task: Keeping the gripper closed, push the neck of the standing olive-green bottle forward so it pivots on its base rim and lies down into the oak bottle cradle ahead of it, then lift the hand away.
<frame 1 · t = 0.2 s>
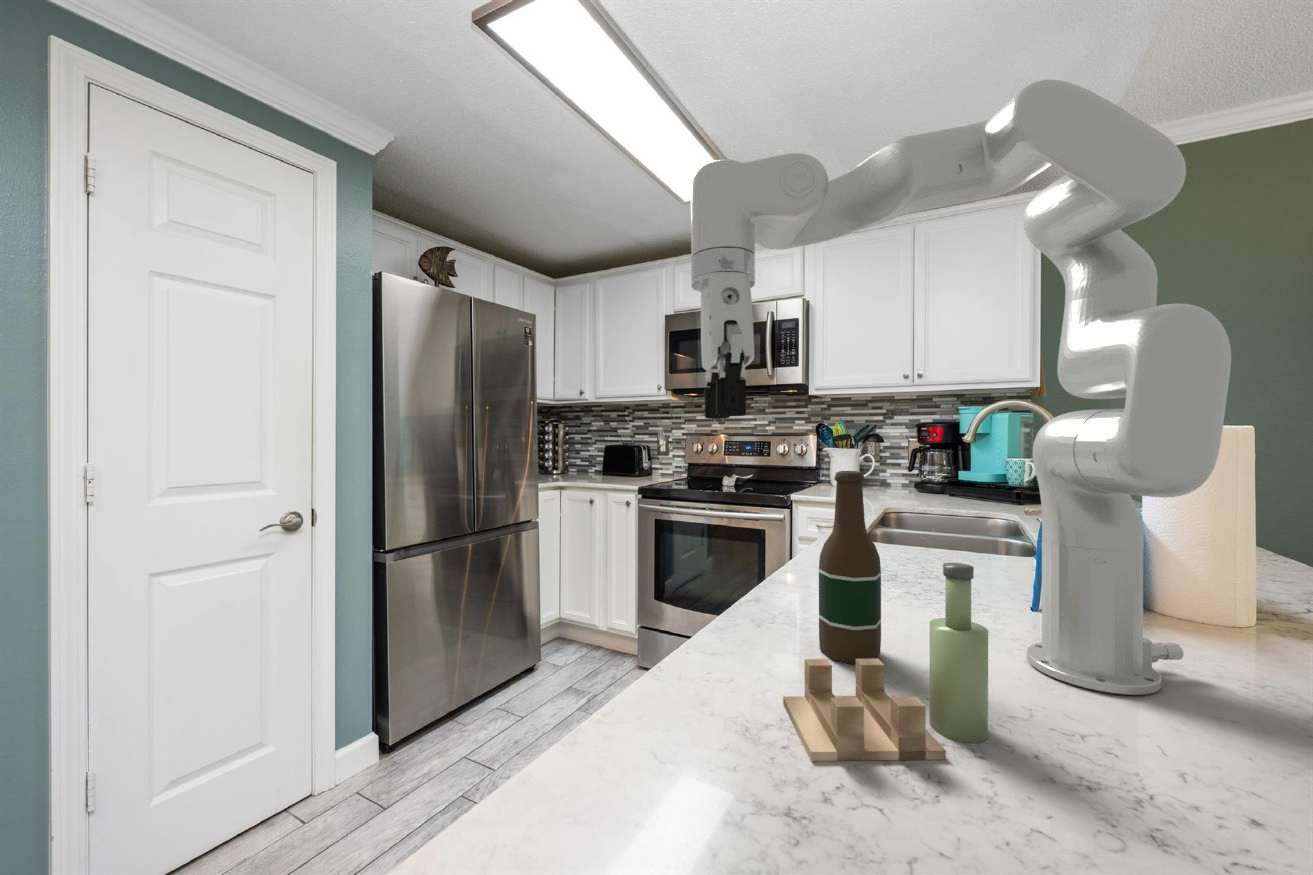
hand: (723, 417, 64), 31 cm above the countertop, tool pointing down, fingers open, 9 cm apart
bottle: (958, 728, 53), on the countertop
beer bottle: (849, 654, 71), on the countertop
rest: (856, 728, 52), on the countertop
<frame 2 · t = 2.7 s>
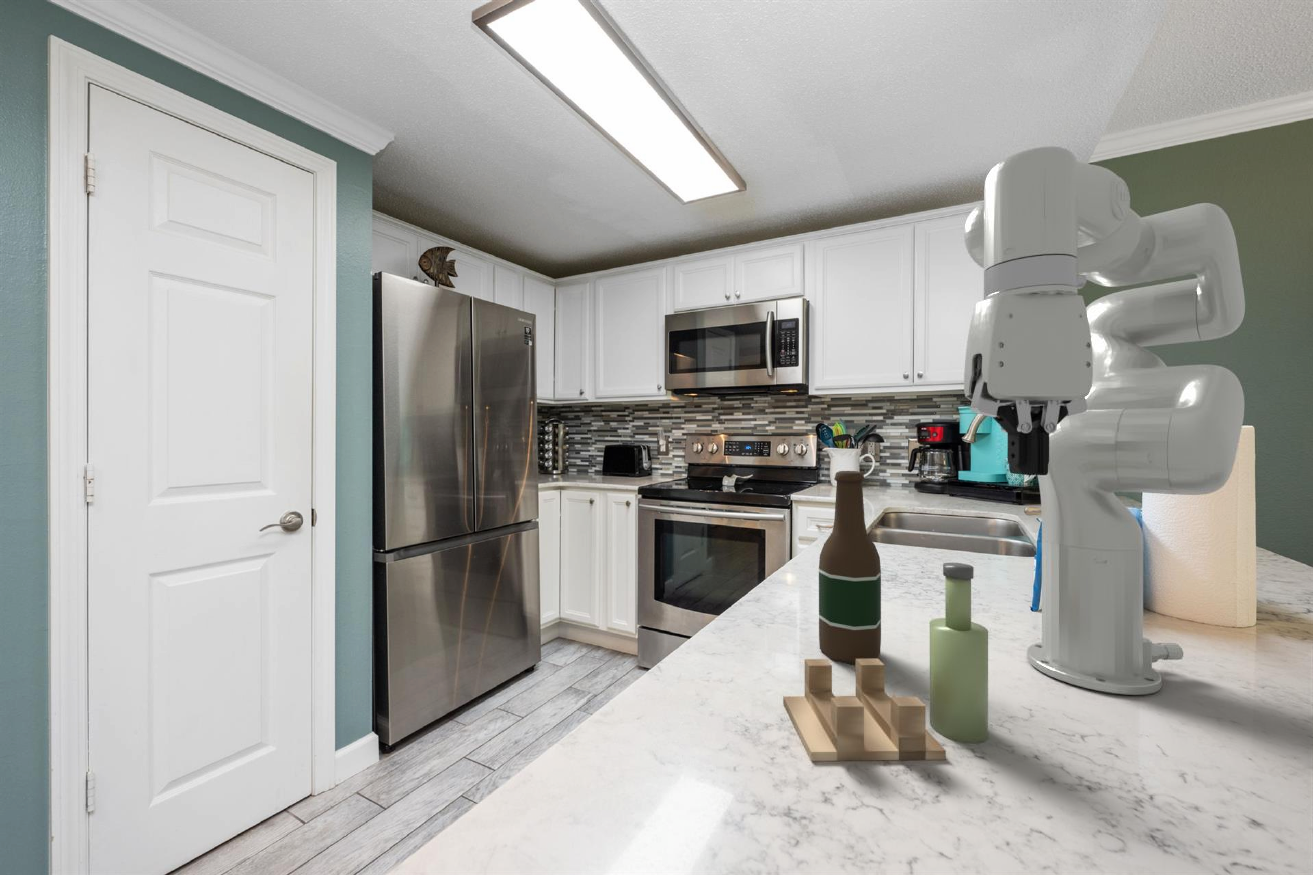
hand: (1028, 473, 52), 25 cm above the countertop, tool pointing down, fingers closed
nothing on the countertop moved.
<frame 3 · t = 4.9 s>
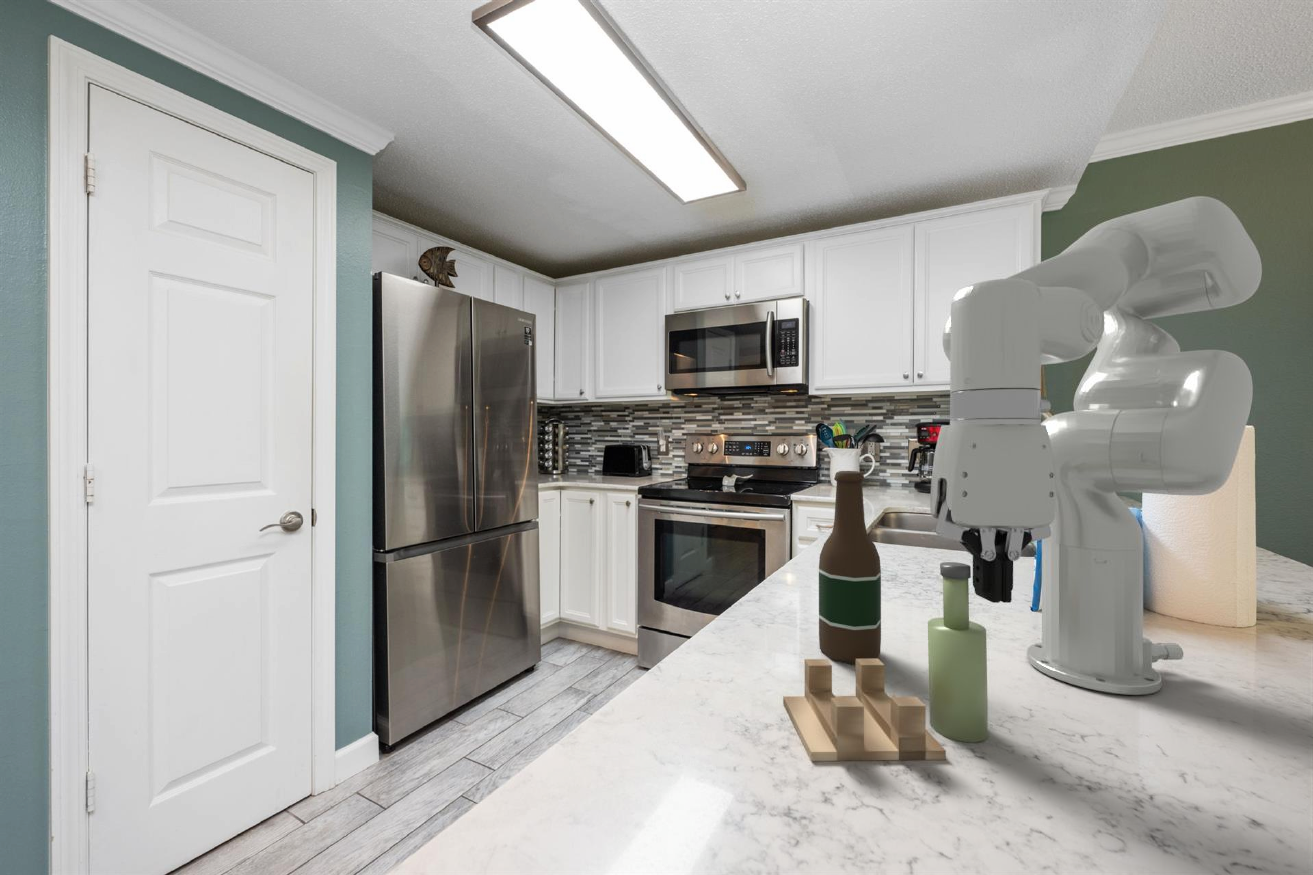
hand: (992, 598, 52), 13 cm above the countertop, tool pointing down, fingers closed
bottle: (958, 727, 53), on the countertop, touching gripper
everything else where it was.
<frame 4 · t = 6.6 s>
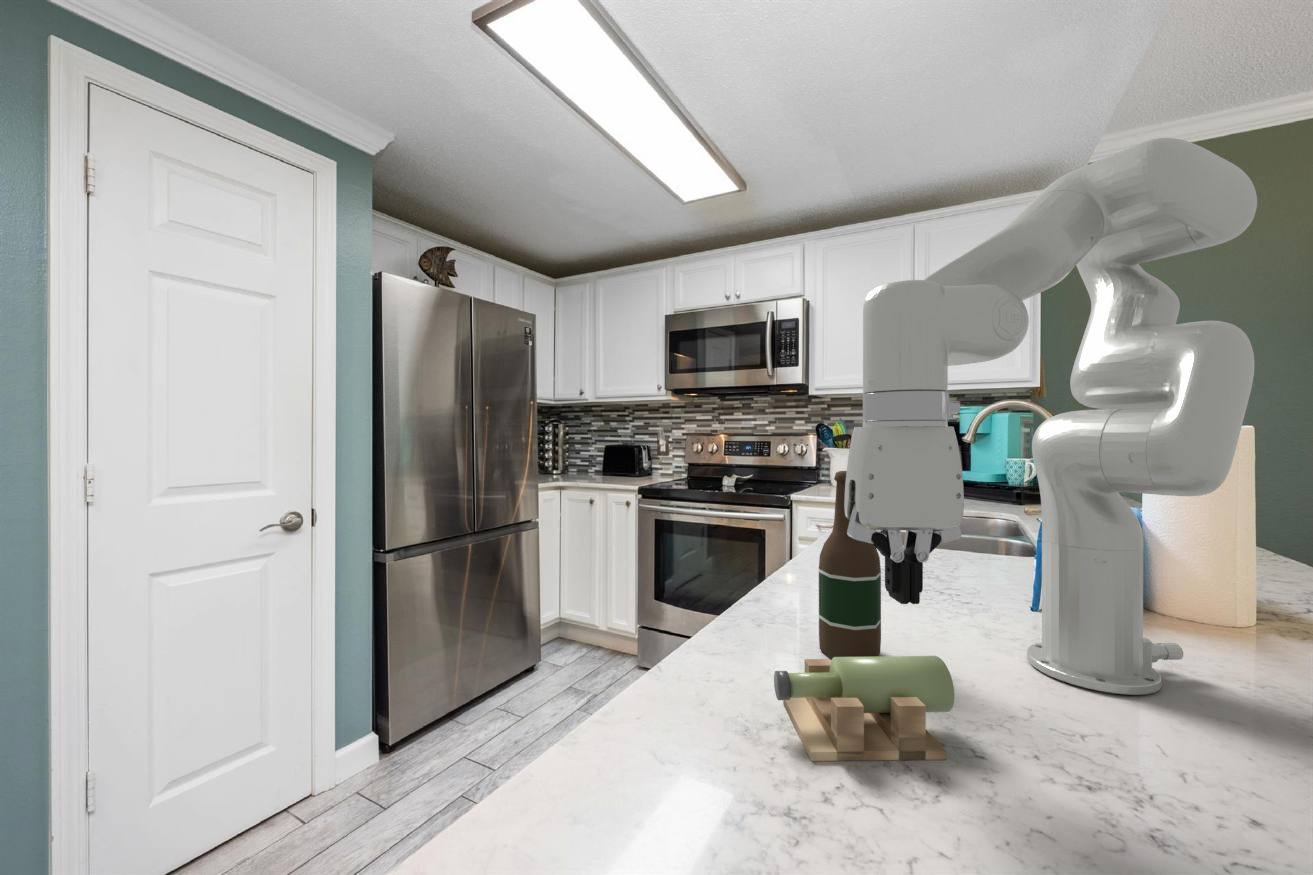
hand: (903, 599, 52), 13 cm above the countertop, tool pointing down, fingers closed
bottle: (939, 683, 52), point 4 cm above the countertop, tilted 90°, touching rest
everything else where it was.
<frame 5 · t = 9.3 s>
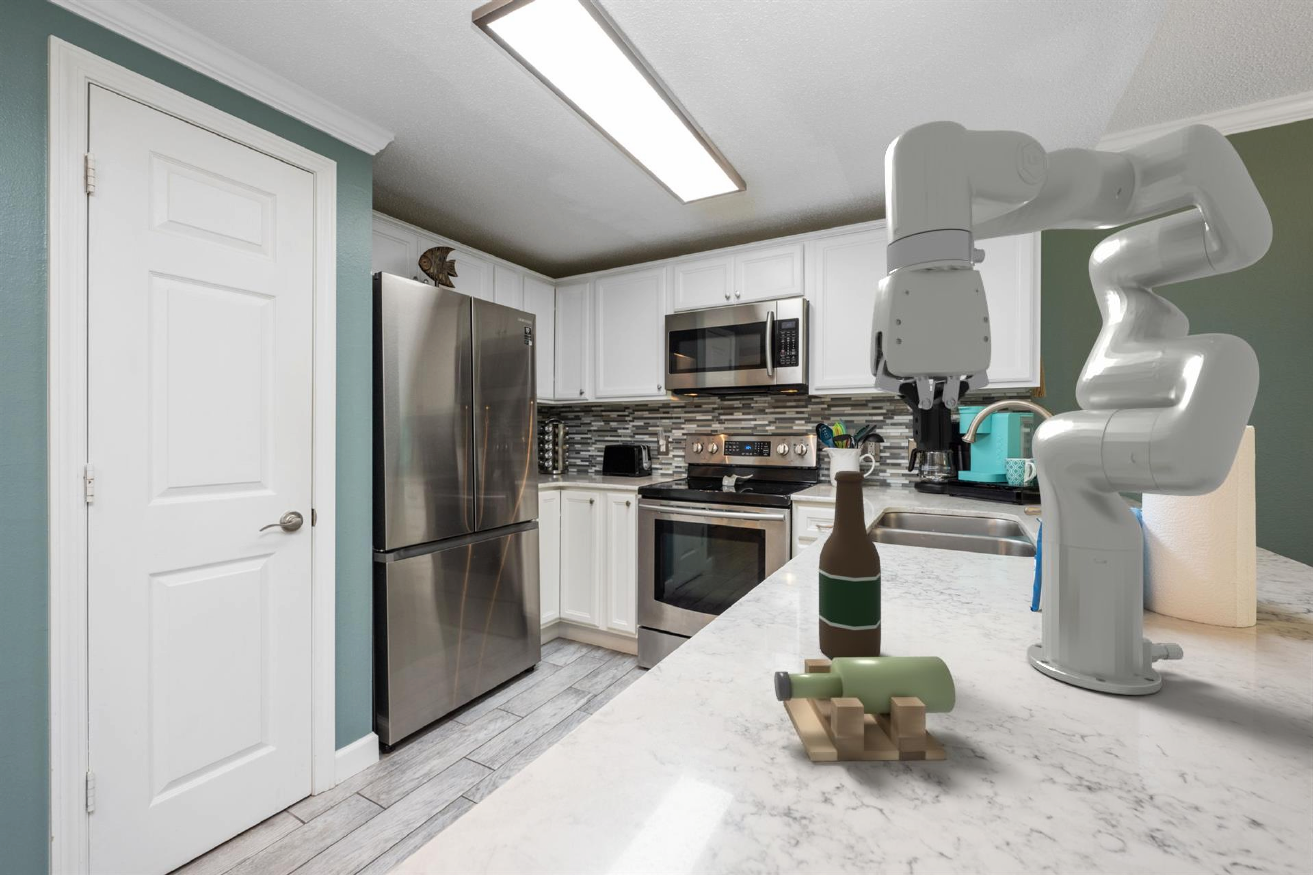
hand: (932, 449, 53), 27 cm above the countertop, tool pointing down, fingers closed
nothing on the countertop moved.
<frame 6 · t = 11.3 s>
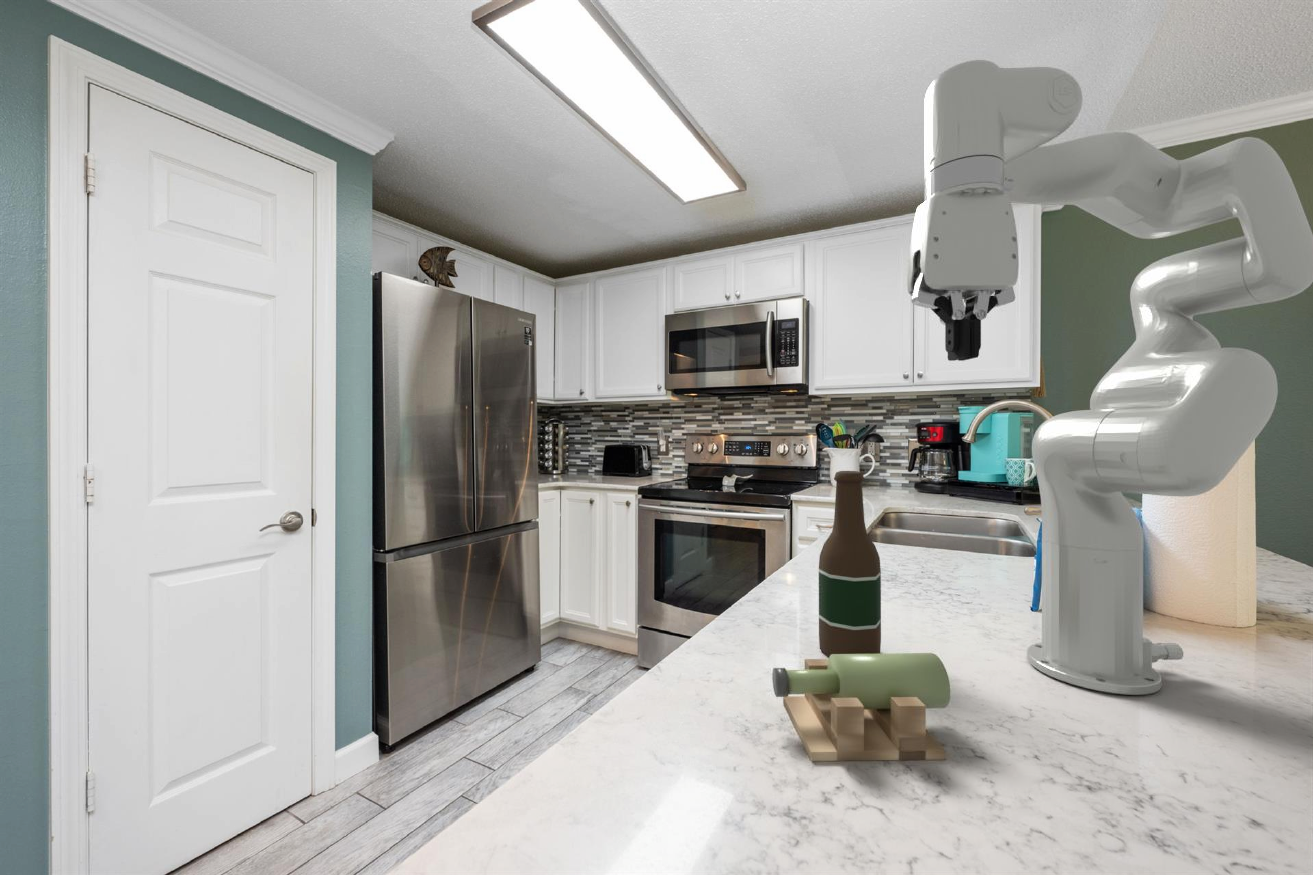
hand: (962, 358, 58), 37 cm above the countertop, tool pointing down, fingers closed
nothing on the countertop moved.
at the end: bottle tilted 90°; bottle inside the target area on the rest (2.2 cm from its centre), point 4.5 cm above the rest's base; bottle touching rest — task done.
